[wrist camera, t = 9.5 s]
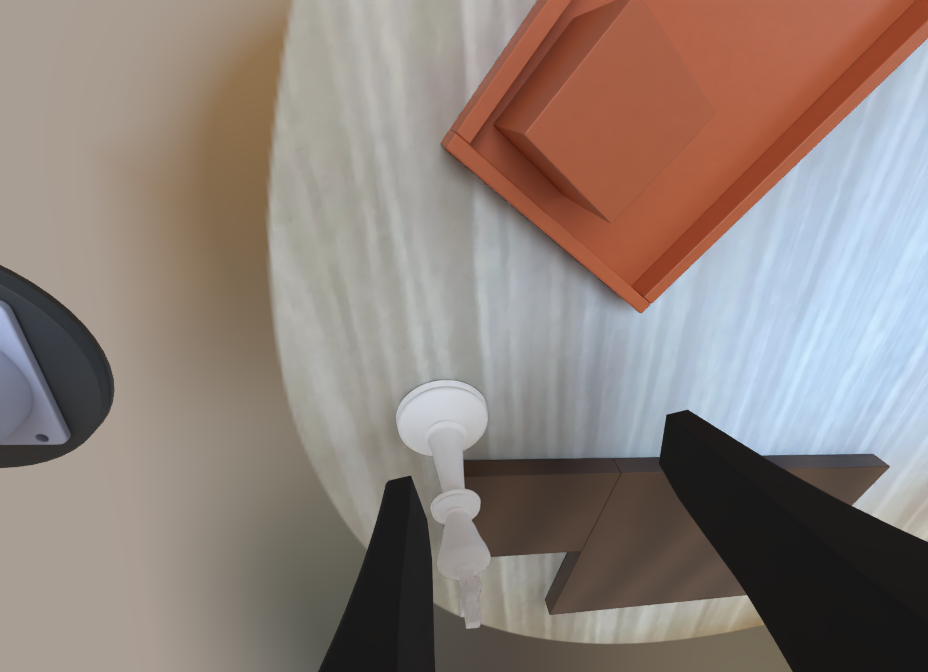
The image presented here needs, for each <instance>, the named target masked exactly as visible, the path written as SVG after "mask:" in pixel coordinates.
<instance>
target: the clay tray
mask: <svg viewBox="0 0 928 672" xmlns="http://www.w3.org/2000/svg"><path fill="white" fill-rule="evenodd" d="M613 1H615V0H538V1H537V2H536V4H535V5H534V6H533V8H532V9H531V11H530V12H529V14H528V15H527V17H526V18H525V20H524V21H523V23H522V24H521V26H520V27H519V28H518V30H517V31H516V33H515V34H514V36H513V37H512V39H511V40H510V42H509V43H508V45H507V46H506V48H505V49H504V51H503V52H502V53H501V55H500V56H499V58H498V59H497V61H496V62H495V64H494V65H493V67H492V68H491V70H490V71H489V73H488V74H487V75H486V77H485V78H484V80H483V81H482V83H481V84H480V86H479V87H478V89H477V90H476V92H475V93H474V95H473V96H472V98H471V99H470V100H469V102H468V103H467V105H466V106H465V108H464V109H463V111H462V112H461V114H460V115H459V117H458V118H457V120H456V121H455V122H454V124H453V125H452V127H451V128H450V130H449V131H448V133H447V134H446V136H445V137H444V139H443V140H442V142H441V144H442V145H443V146H444V147H445V149H446V150H448V151H449V152H450V153H451V154H452V155H453V156H455V157H456V158H457V159H458V160H459V161H461V162H462V163H463V164H464V165H465V166H466V167H468V168H469V169H470V170H471V171H472V172H474V173H475V174H476V175H477V176H478V177H479V178H481V179H482V180H483V181H484V182H485V183H487V184H488V185H489V186H490V187H491V188H492V189H494V190H495V191H496V192H497V193H498V194H500V195H501V196H502V197H503V198H504V199H505V200H507V201H508V202H509V203H510V204H511V205H513V206H514V207H515V208H516V209H517V210H518V211H520V212H521V213H522V214H523V215H524V216H526V217H527V218H528V219H529V220H530V221H531V222H533V223H534V224H535V225H536V226H537V227H539V228H540V229H541V230H542V231H543V232H544V233H546V234H547V235H548V236H549V237H550V238H552V239H553V240H554V241H555V242H556V243H557V244H559V245H560V246H561V247H562V248H563V249H565V250H566V251H567V252H568V253H569V254H570V255H572V256H573V257H574V258H575V259H576V260H578V261H579V262H580V263H581V264H582V265H583V266H585V267H586V268H587V269H588V270H589V271H591V272H592V273H593V274H594V275H595V276H596V277H598V278H599V279H600V280H601V281H602V282H604V283H605V284H606V285H607V286H608V287H609V288H611V289H612V290H613V291H614V292H615V293H617V294H618V295H619V296H620V297H621V298H623V299H624V300H625V301H626V302H627V303H628V304H630V305H631V306H632V307H633V308H634V309H636V310H637V311H638V312H639V313H642V312H643V311H644V310H645V309H646V308H648V307H649V306H650V303H653V302H654V301H655V300H656V299H657V298H658V297H659V296H660V295H661V294H662V293H663V292H664V291H665V290H666V289H667V288H668V287H669V286H670V285H671V284H672V283H674V282H675V281H676V280H677V279H678V278H679V277H680V276H681V275H682V274H683V273H684V272H685V271H686V270H687V269H688V268H689V267H690V266H691V265H692V264H693V263H694V262H695V261H696V260H697V259H698V258H700V257H701V256H702V255H703V254H704V253H705V252H706V251H707V250H708V249H709V248H710V247H711V246H712V245H713V244H714V243H715V242H716V241H717V240H718V239H719V238H720V237H721V236H722V235H723V234H724V233H726V232H727V231H728V230H729V229H730V228H731V227H732V226H733V225H734V224H735V223H736V222H737V221H738V220H739V219H740V218H741V217H742V216H743V215H744V214H745V213H746V212H747V211H748V210H749V209H750V208H752V207H753V206H754V205H755V204H756V203H757V202H758V201H759V200H760V199H761V198H762V197H763V196H764V195H765V194H766V193H767V192H768V191H769V190H770V189H771V188H772V187H773V186H774V185H775V184H776V183H778V182H779V181H780V180H781V179H782V178H783V177H784V176H785V175H786V174H787V173H788V172H789V171H790V170H791V169H792V168H793V167H794V166H795V165H796V164H797V163H798V162H799V161H800V160H801V159H802V158H804V157H805V156H806V155H807V154H808V153H809V152H810V151H811V150H812V149H813V148H814V147H815V146H816V145H817V144H818V143H819V142H820V141H821V140H822V139H823V138H824V137H825V136H826V135H827V134H828V133H830V132H831V131H832V130H833V129H834V128H835V127H836V126H837V125H838V124H839V123H840V122H841V121H842V120H843V119H844V118H845V117H846V116H847V115H848V114H849V113H850V112H851V111H852V110H853V109H854V108H856V107H857V106H858V105H859V104H860V103H861V102H862V101H863V100H864V99H865V98H866V97H867V96H868V95H869V94H870V93H871V92H872V91H873V90H874V89H875V88H876V87H877V86H878V85H879V84H880V83H882V82H883V81H884V80H885V79H886V78H887V77H888V76H889V75H890V74H891V73H892V72H893V71H894V70H895V69H896V68H897V67H898V66H899V65H900V64H901V63H902V62H903V61H904V60H905V59H906V58H908V57H909V56H910V55H911V54H912V53H913V52H914V51H915V50H916V49H917V48H918V47H919V46H920V45H921V44H922V43H923V42H924V41H925V40H926V39H927V38H928V0H644V2H645V3H646V5H647V6H648V8H649V9H650V11H651V12H652V14H653V15H654V17H655V18H656V20H657V21H658V23H659V24H660V26H661V27H662V29H663V31H664V32H665V34H666V35H667V37H668V38H669V40H670V41H671V43H672V44H673V46H674V47H675V49H676V50H677V52H678V53H679V55H680V56H681V58H682V60H683V61H684V63H685V64H686V66H687V67H688V69H689V70H690V72H691V73H692V75H693V76H694V78H695V79H696V81H697V82H698V84H699V85H700V87H701V89H702V90H703V92H704V93H705V95H706V96H707V98H708V99H709V101H710V102H711V104H712V105H713V107H714V108H715V110H716V111H717V113H716V114H715V115H714V117H713V118H712V119H711V120H710V121H709V122H708V123H707V124H706V125H705V126H704V127H703V128H702V129H701V130H700V131H699V132H698V133H697V134H696V135H695V137H694V138H693V139H692V140H691V141H690V142H689V143H688V144H687V145H686V146H685V147H684V148H683V149H682V150H681V151H680V152H679V153H678V154H677V155H676V157H675V158H674V159H673V160H672V161H671V162H670V163H669V164H668V165H667V166H666V167H665V168H664V169H663V170H662V171H661V172H660V173H659V174H658V175H657V177H656V178H655V179H654V180H653V181H652V182H651V183H650V184H649V185H648V186H647V187H646V188H645V189H644V190H643V191H642V192H641V193H640V194H639V195H638V197H637V198H636V199H635V200H634V201H633V202H632V203H631V204H630V205H629V206H628V207H627V208H626V209H625V210H624V211H623V212H622V213H621V214H620V215H619V217H618V218H617V219H616V220H615V221H614V222H613V223H612V224H610V223H608V222H607V221H605V220H603V219H602V218H600V217H598V216H597V215H595V214H593V213H592V212H590V211H588V210H587V209H585V208H583V207H582V206H580V205H578V204H577V203H575V202H574V201H572V200H570V199H569V198H567V197H565V196H564V195H563V194H562V193H561V192H560V191H559V190H558V189H557V188H556V187H555V186H554V185H553V184H552V183H551V182H550V181H549V180H548V179H547V178H546V177H545V176H544V175H543V174H542V173H541V172H540V171H539V170H538V169H537V168H536V167H535V166H534V165H533V164H532V163H531V162H530V161H529V160H528V159H527V158H526V157H525V156H524V155H523V154H522V153H521V152H520V151H519V150H518V149H517V148H516V147H515V146H514V145H513V144H512V143H511V142H510V141H509V140H508V139H506V138H505V137H504V136H503V135H502V134H501V133H500V132H499V131H498V130H497V129H496V128H495V127H494V125H493V124H494V123H495V121H496V120H497V119H498V117H499V116H500V115H501V113H502V112H503V111H504V109H505V108H506V107H507V105H508V104H509V103H510V101H511V100H512V99H513V97H514V96H515V95H516V93H517V92H518V91H519V89H520V88H521V87H522V85H523V84H524V83H525V81H526V80H527V79H528V78H529V76H530V75H531V74H532V72H533V71H534V70H535V68H536V67H537V66H538V64H539V63H540V62H541V60H542V59H543V58H544V56H545V55H546V54H547V52H548V51H549V50H550V48H551V47H552V46H553V44H554V43H555V42H556V40H557V39H558V38H559V36H560V35H561V34H562V32H563V31H564V30H565V28H566V27H567V26H568V24H569V23H570V22H571V20H572V19H573V18H574V17H577V16H579V15H581V14H584V13H586V12H589V11H591V10H593V9H596V8H598V7H601V6H603V5H605V4H608V3H610V2H613Z"/></svg>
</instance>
